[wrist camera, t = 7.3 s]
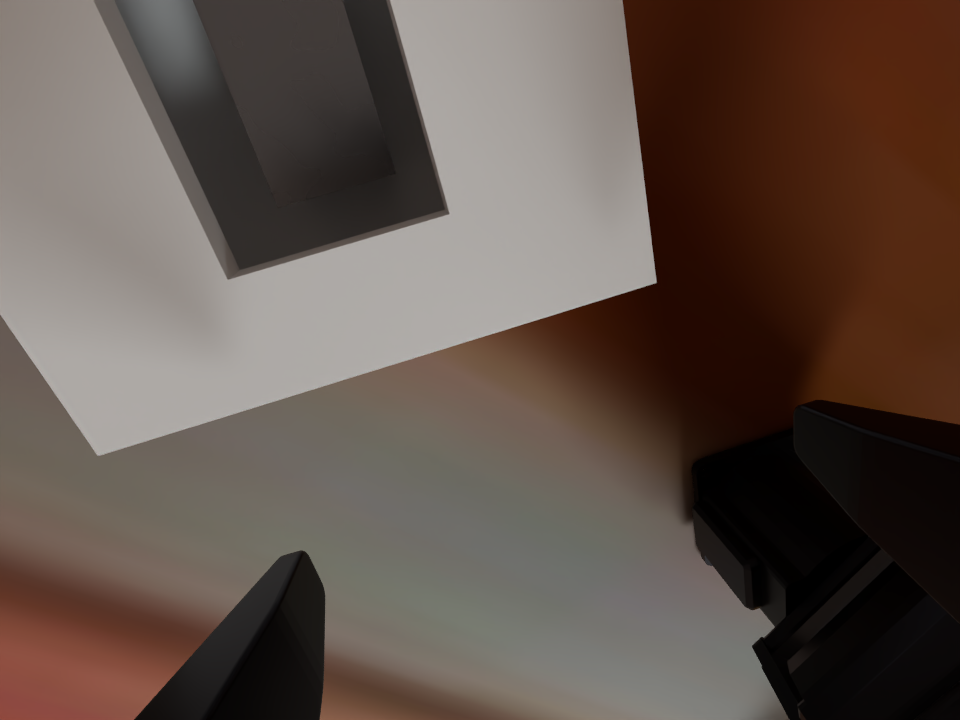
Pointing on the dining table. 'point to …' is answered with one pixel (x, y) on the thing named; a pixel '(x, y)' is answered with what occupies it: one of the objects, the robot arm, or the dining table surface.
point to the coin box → (302, 203)
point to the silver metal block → (299, 93)
